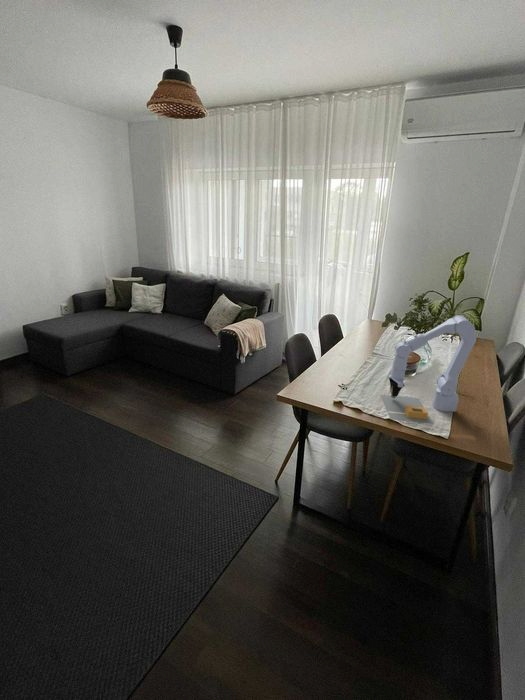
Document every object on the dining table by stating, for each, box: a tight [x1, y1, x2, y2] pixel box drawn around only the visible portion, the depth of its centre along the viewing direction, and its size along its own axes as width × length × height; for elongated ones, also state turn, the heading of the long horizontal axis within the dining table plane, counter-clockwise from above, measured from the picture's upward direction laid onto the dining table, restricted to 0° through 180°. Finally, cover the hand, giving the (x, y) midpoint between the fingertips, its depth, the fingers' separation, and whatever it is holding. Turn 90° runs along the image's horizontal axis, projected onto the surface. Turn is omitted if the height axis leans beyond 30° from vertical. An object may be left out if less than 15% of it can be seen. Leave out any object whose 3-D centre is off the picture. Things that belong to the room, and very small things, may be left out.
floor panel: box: [379, 394, 434, 425], centre depth 155 cm, size 18×22×1 cm
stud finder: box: [405, 405, 429, 419], centre depth 149 cm, size 8×5×3 cm, turn 83°
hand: (393, 394), depth 161 cm, fingers closed on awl, 3 cm apart
